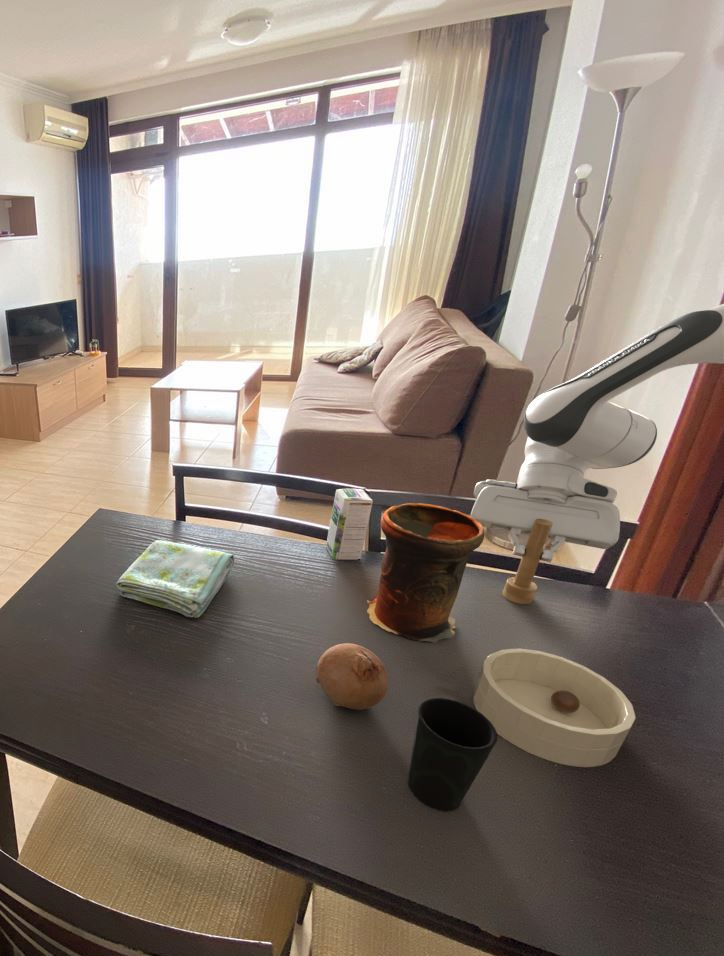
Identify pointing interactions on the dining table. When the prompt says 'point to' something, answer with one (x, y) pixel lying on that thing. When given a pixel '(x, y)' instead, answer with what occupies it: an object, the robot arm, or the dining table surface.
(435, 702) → the cup
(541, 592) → the dining table surface
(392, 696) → the dining table surface
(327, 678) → the onion
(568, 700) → the bead
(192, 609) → the towel
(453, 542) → the vessel
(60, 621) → the dining table surface
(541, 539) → the wooden tamper
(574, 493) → the robot arm
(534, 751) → the bowl
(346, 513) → the syrup box
